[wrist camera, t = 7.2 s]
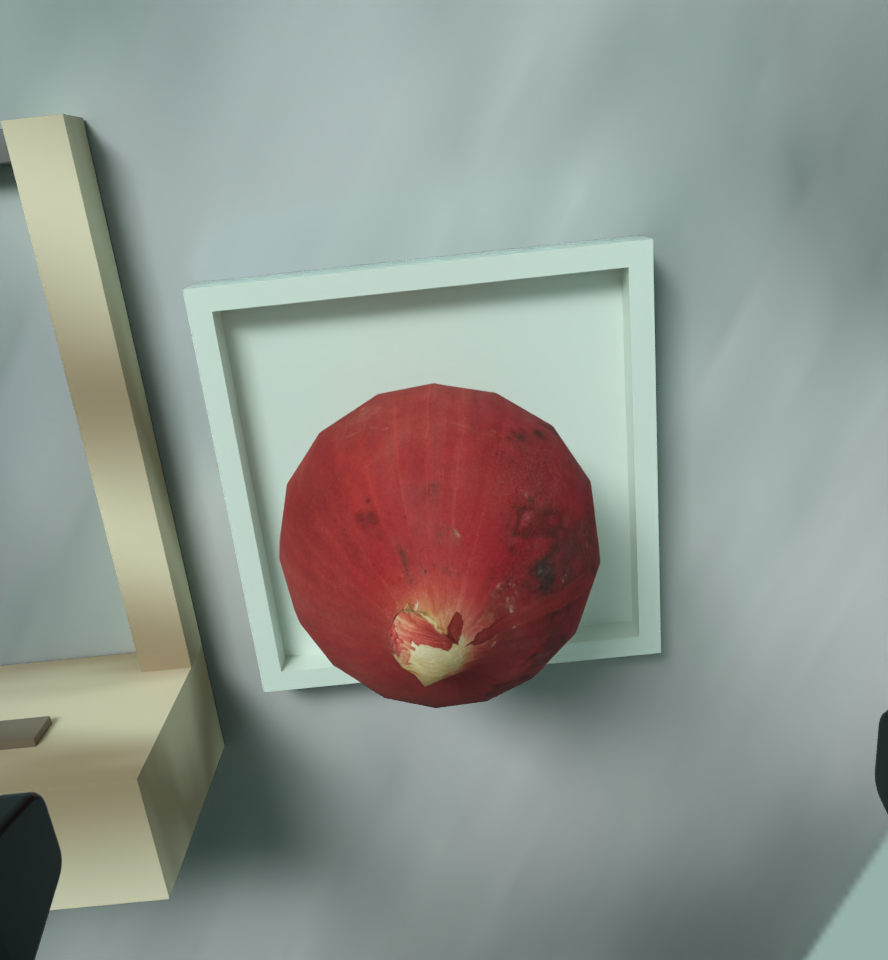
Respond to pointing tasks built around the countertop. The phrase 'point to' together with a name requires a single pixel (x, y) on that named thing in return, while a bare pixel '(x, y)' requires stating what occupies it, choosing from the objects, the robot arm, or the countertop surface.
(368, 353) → the tray
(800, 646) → the countertop surface
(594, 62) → the countertop surface
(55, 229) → the open rectangular frame
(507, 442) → the onion
